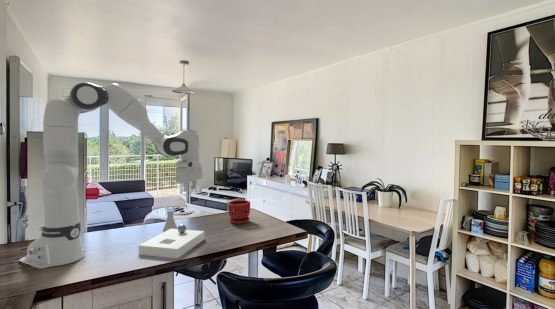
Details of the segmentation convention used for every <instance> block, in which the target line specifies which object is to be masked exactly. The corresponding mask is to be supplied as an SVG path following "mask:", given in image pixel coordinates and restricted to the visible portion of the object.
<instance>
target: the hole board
mask: <svg viewBox="0 0 555 309" xmlns="http://www.w3.org/2000/svg"><path fill="white" fill-rule="evenodd" d="M204 240H205V231H204V230H196V229H195V230H193V229H186V231H185V232H184V233H179V232H178V229H169V230H167V231H162V232H161V233H160V234H157V235H156V236H154V237H152V238H150V239H148V240H146V241H143V242H142V243H140V244H138V256H139V255H140V256H148V257H157V258H158V257H159V258H165V259H166V258H168V259H179V258H181V257H183V255H185V254H186V253H188V252H189V251H190V250H192V249H193V248H194V247H195V246H197V245H199V244H200V243H201V242H203V241H204Z"/></svg>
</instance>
